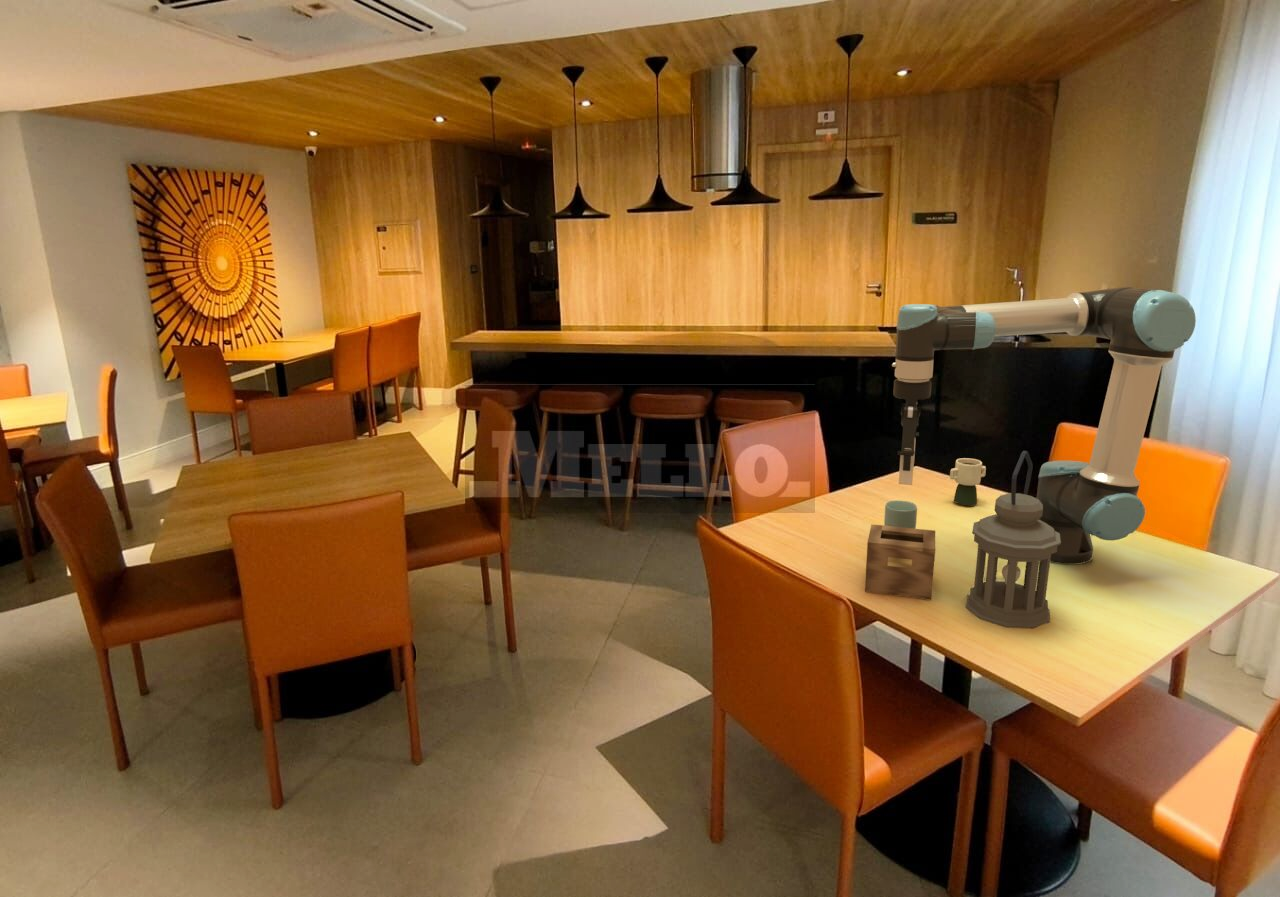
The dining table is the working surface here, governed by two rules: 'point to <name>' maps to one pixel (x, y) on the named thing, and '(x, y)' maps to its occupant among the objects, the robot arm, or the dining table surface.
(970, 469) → the character mug
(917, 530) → the coin box
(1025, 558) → the lantern
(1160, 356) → the robot arm
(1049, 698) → the dining table surface
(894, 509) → the cup
